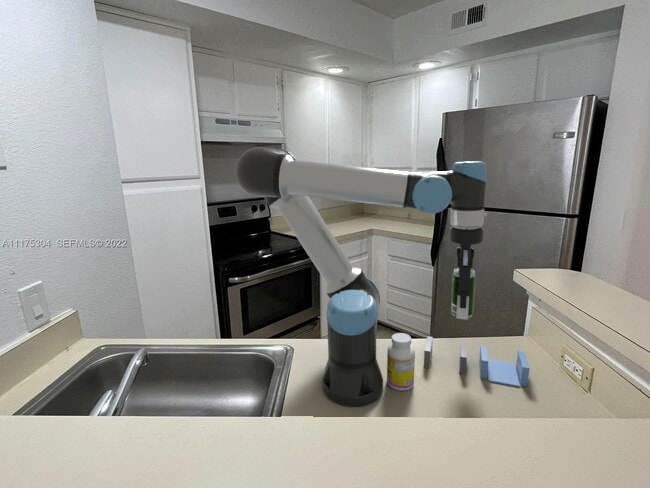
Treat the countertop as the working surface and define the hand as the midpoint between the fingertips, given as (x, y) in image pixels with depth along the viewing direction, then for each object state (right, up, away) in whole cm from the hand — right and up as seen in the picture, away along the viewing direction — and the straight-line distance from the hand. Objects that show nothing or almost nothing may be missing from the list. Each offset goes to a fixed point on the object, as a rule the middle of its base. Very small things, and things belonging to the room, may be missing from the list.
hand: (462, 313), depth 90 cm
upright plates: (+4, -15, +2) cm, 16 cm away
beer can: (0, 0, 0) cm, 1 cm away
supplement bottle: (-17, -17, -3) cm, 24 cm away
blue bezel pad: (+10, -15, 0) cm, 19 cm away
